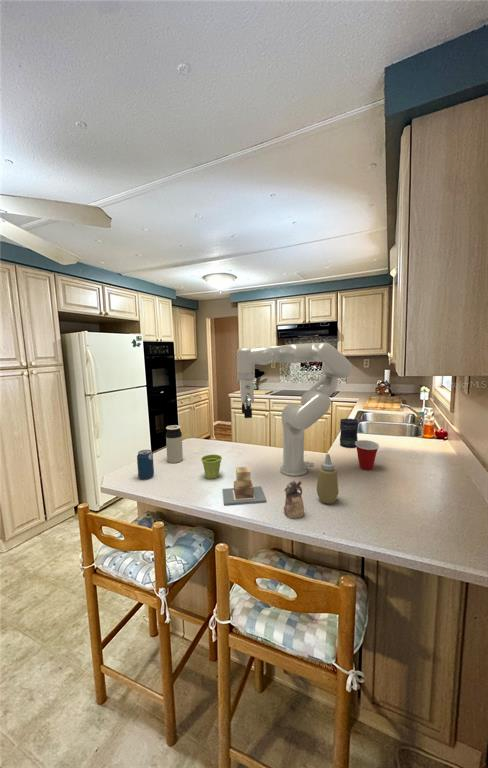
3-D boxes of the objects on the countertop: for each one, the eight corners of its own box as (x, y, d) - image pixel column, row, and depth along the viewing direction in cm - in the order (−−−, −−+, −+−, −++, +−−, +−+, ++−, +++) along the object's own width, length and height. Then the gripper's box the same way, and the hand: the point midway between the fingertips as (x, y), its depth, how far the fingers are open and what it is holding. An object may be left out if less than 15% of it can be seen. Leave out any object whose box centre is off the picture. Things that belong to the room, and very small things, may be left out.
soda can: (157, 475, 142) (156, 450, 141) (145, 481, 136) (143, 455, 135) (147, 472, 146) (145, 448, 145) (135, 478, 140) (133, 452, 139)
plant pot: (219, 481, 135) (218, 462, 134) (198, 480, 137) (198, 461, 136) (224, 472, 144) (224, 454, 143) (205, 471, 146) (204, 453, 145)
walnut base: (251, 489, 125) (251, 479, 125) (253, 497, 118) (253, 487, 118) (233, 490, 124) (233, 481, 124) (235, 499, 117) (235, 489, 117)
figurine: (286, 506, 113) (286, 475, 111) (305, 510, 110) (305, 477, 109) (281, 516, 106) (281, 483, 105) (301, 520, 104) (302, 486, 102)
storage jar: (345, 441, 187) (346, 417, 185) (360, 445, 180) (361, 420, 178) (336, 445, 181) (336, 420, 179) (351, 449, 173) (352, 423, 172)
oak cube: (248, 481, 124) (248, 466, 123) (250, 486, 119) (250, 471, 118) (236, 482, 123) (236, 467, 122) (237, 487, 118) (237, 472, 117)
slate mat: (261, 488, 128) (261, 485, 128) (266, 502, 116) (266, 500, 116) (222, 490, 126) (222, 488, 126) (224, 505, 114) (224, 503, 114)
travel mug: (175, 464, 156) (173, 429, 154) (163, 461, 160) (162, 427, 158) (186, 459, 163) (184, 426, 160) (174, 456, 167) (173, 424, 165)
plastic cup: (359, 472, 141) (360, 447, 140) (350, 464, 152) (351, 440, 151) (383, 472, 142) (383, 446, 140) (372, 463, 152) (373, 439, 151)
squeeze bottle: (322, 493, 123) (322, 449, 120) (341, 499, 117) (342, 453, 115) (312, 501, 116) (312, 455, 114) (333, 508, 111) (333, 460, 109)
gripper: (257, 378, 126) (258, 419, 128) (251, 374, 143) (252, 411, 145) (239, 379, 125) (240, 420, 127) (235, 375, 142) (236, 411, 144)
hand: (246, 415), depth 136 cm, fingers open, 9 cm apart
